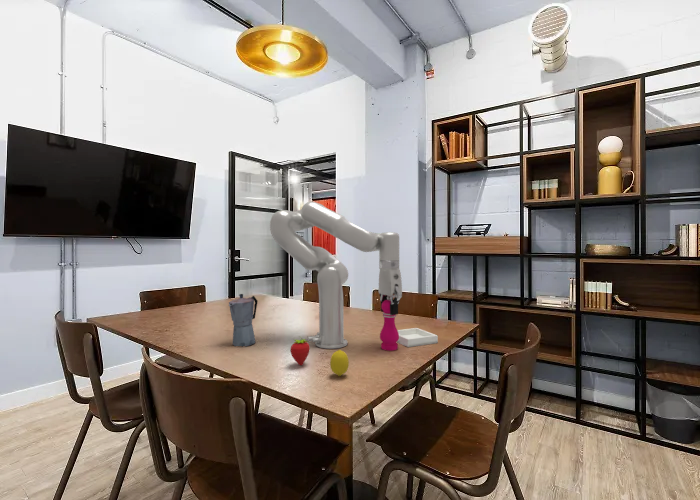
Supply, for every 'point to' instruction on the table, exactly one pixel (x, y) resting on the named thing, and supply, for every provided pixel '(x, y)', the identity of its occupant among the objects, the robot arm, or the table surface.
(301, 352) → the strawberry
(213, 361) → the table surface
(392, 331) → the pepper mill
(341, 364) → the lemon
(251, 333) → the moka pot
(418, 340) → the tray
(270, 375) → the table surface
